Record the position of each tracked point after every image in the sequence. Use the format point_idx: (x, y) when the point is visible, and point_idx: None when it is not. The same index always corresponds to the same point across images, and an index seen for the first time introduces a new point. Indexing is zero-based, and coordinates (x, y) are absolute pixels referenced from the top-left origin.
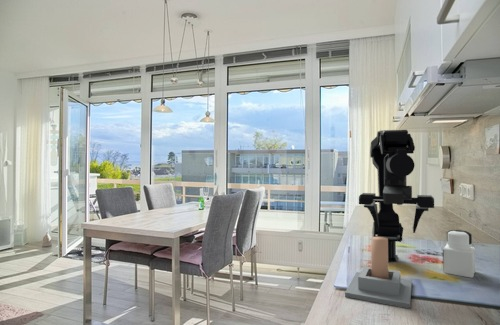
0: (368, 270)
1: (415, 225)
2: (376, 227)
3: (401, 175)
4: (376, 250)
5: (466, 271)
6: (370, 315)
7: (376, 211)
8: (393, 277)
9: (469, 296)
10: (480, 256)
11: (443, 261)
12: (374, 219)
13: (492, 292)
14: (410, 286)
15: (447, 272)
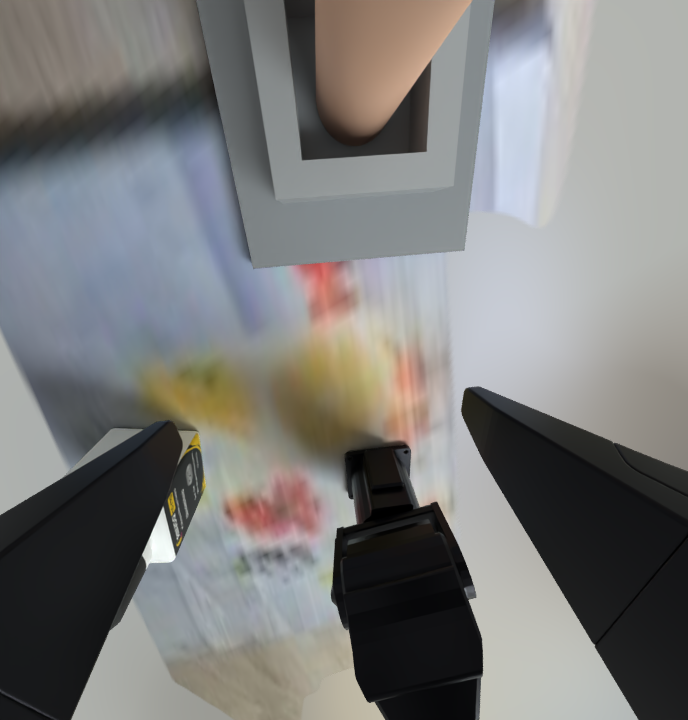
0: (426, 129)
1: (91, 467)
2: (491, 393)
3: None
4: None
5: (117, 439)
6: None
7: (657, 590)
8: (282, 39)
9: (45, 240)
10: (161, 586)
11: (182, 459)
12: (582, 435)
13: (9, 329)
14: (236, 176)
15: (184, 431)
